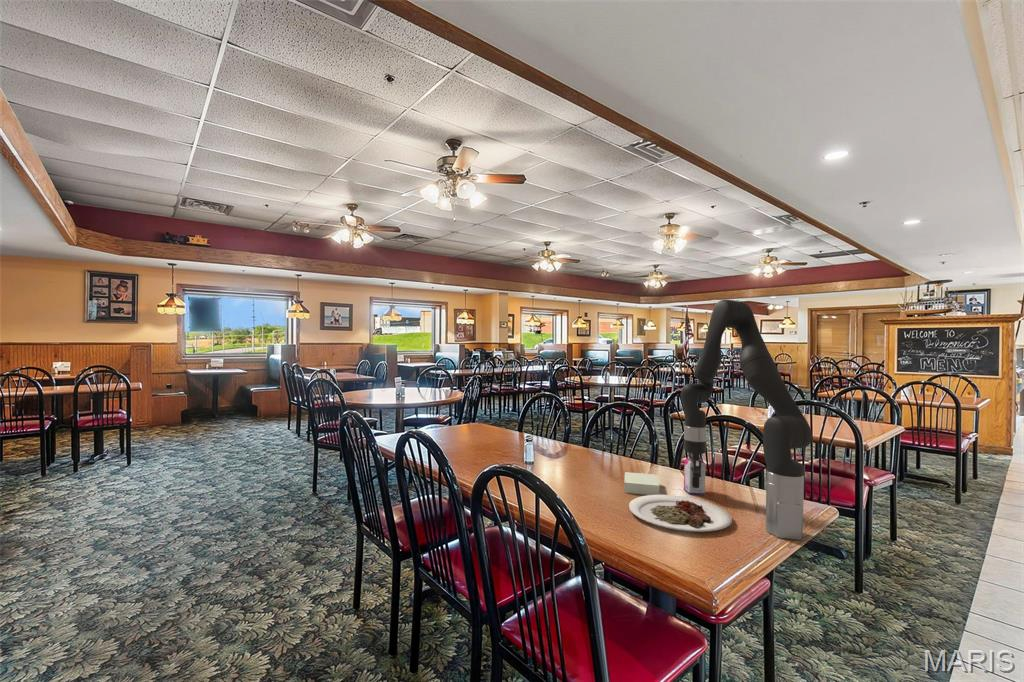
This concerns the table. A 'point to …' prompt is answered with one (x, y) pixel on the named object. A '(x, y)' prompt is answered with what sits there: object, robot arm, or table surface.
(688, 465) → the supplement box
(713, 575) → the table surface
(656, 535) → the table surface
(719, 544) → the table surface
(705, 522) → the plated food
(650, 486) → the sage block
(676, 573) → the table surface
